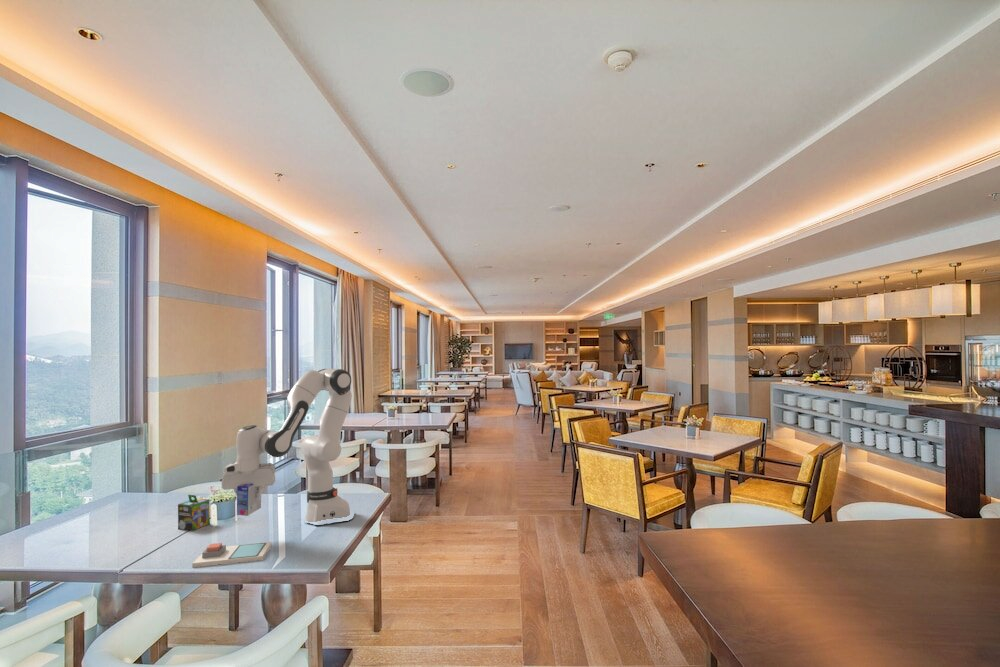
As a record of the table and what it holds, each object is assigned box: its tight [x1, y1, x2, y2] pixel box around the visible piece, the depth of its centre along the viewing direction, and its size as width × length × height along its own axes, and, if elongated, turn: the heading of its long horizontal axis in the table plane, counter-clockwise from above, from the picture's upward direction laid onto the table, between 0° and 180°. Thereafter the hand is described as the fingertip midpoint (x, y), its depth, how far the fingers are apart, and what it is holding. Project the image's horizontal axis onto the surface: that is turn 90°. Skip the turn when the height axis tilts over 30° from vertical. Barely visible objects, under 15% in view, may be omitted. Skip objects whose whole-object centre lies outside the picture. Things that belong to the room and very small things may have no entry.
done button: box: [206, 542, 223, 552], centre depth 183 cm, size 4×4×2 cm
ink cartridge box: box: [236, 483, 262, 517], centre depth 200 cm, size 10×6×14 cm, turn 177°
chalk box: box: [177, 494, 211, 532], centre depth 218 cm, size 9×9×15 cm
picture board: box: [191, 541, 273, 568], centre depth 185 cm, size 24×14×4 cm, turn 103°
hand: (249, 497), depth 200 cm, fingers closed on ink cartridge box, 6 cm apart
